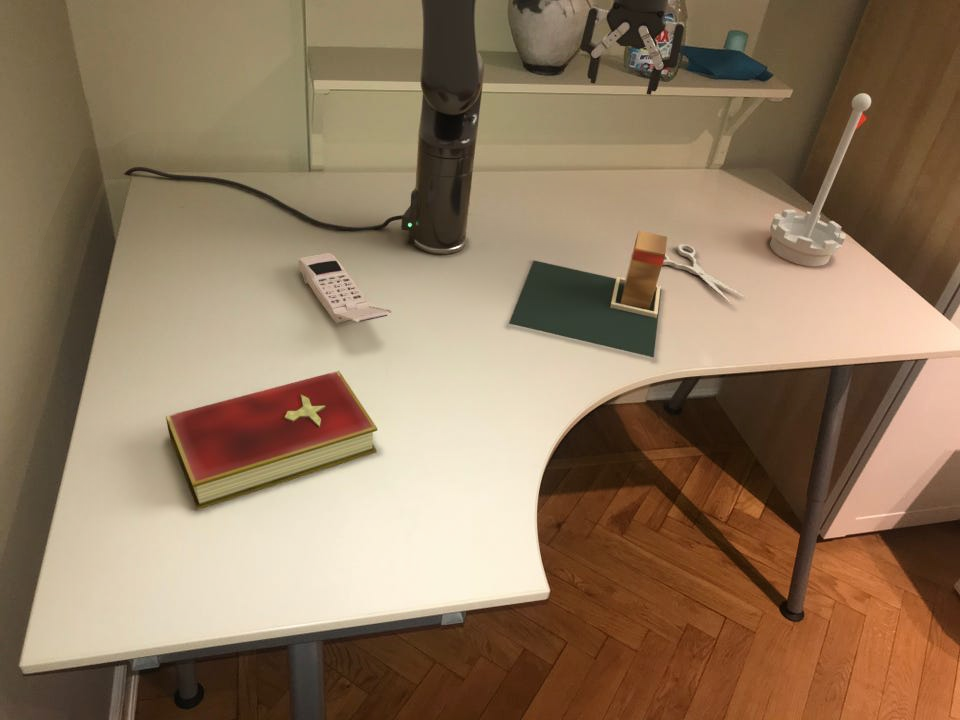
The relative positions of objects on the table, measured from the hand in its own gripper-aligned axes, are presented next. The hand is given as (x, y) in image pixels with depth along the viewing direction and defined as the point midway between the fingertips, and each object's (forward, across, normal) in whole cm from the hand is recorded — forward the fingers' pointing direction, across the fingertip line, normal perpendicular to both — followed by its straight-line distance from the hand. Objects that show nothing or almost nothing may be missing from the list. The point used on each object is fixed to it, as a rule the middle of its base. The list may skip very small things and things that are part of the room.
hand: (621, 87), depth 115 cm
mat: (+30, +3, -15) cm, 34 cm away
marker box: (+30, +10, -10) cm, 33 cm away
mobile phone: (+30, -33, -29) cm, 54 cm away
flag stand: (+30, +39, +21) cm, 54 cm away
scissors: (+30, +20, +3) cm, 36 cm away
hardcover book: (+30, -29, -60) cm, 73 cm away
